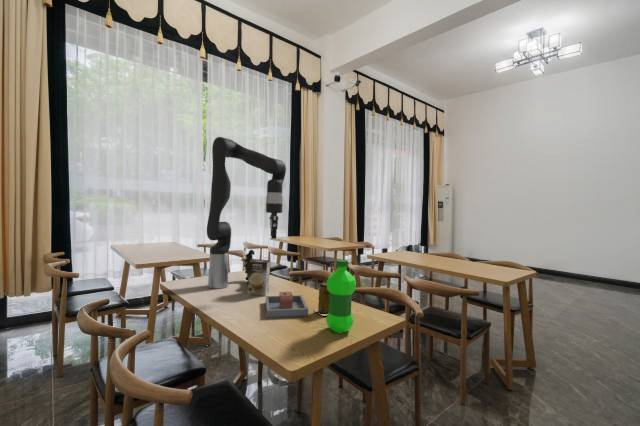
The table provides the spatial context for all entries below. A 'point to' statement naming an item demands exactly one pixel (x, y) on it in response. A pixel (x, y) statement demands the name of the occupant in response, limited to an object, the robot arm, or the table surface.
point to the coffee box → (258, 277)
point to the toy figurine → (249, 257)
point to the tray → (297, 309)
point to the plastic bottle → (340, 298)
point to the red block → (285, 300)
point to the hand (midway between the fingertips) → (273, 237)
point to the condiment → (323, 299)
